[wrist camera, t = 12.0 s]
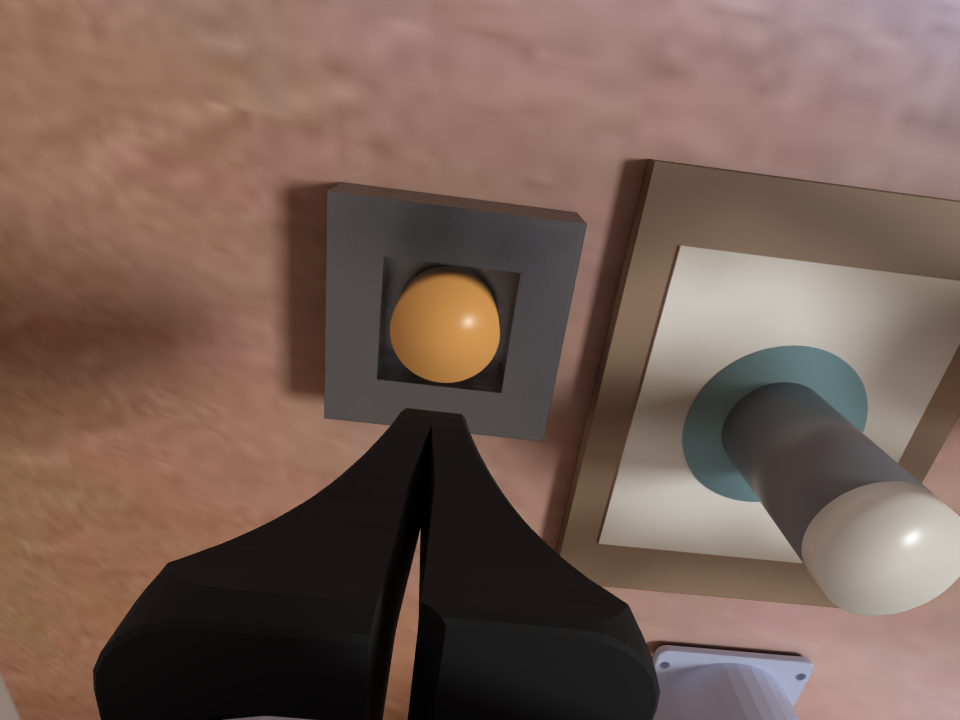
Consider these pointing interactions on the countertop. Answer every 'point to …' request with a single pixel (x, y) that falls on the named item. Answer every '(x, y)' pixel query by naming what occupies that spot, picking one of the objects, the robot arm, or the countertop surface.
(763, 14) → the countertop surface
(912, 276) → the picture frame
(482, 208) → the button housing
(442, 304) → the button
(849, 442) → the grey domed cylinder
